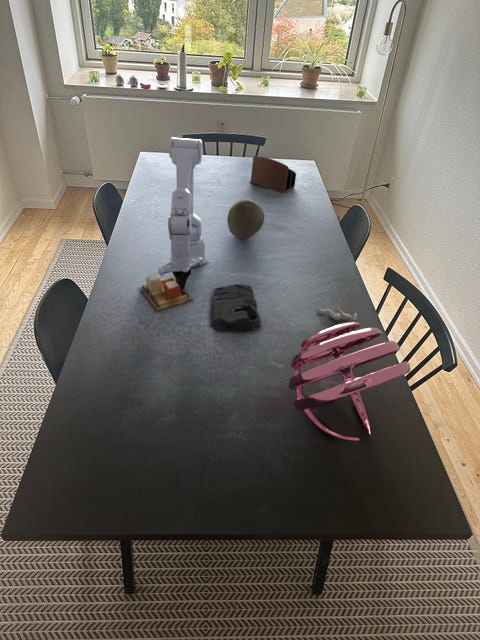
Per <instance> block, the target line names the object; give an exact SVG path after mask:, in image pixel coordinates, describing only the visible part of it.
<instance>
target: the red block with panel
mask: <svg viewBox="0 0 480 640" xmlns="http://www.w3.org/2000/svg"><path fill="white" fill-rule="evenodd" d="M176 281H177V280H176ZM176 281H175V280H174V281H171V282H167V283H164V295H165V296H166V298H167V299H168V300H170V299H173V298H176V297H180V296H181V290H180V286H179V284H178V283H177V282H176Z"/></svg>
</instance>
